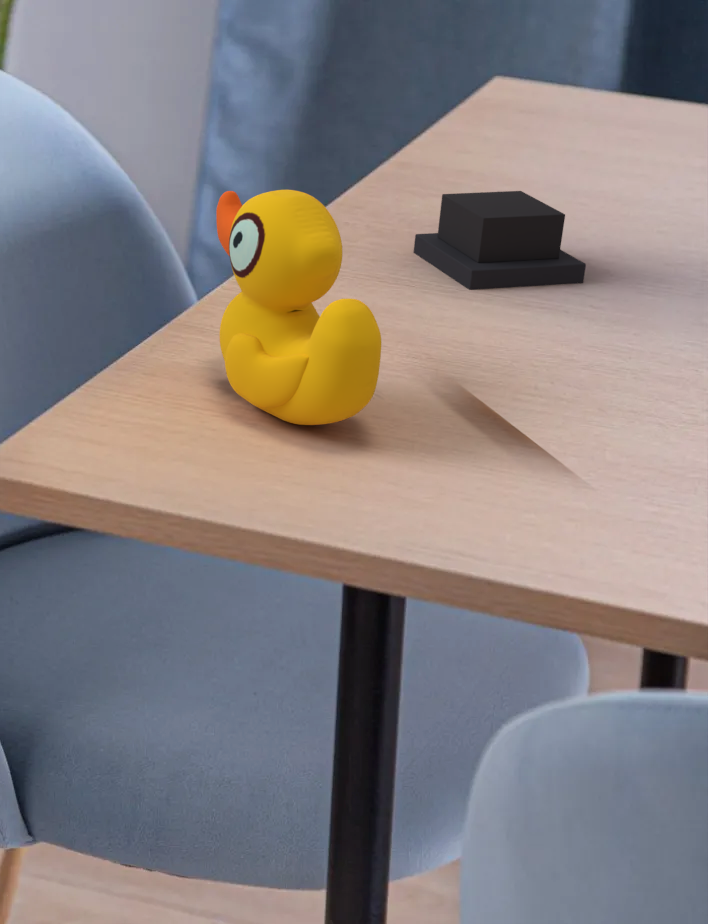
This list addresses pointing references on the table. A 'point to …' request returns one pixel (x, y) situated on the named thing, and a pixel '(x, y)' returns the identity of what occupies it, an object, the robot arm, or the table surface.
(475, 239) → the top pad
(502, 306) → the table surface
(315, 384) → the duckling
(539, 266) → the base pad
